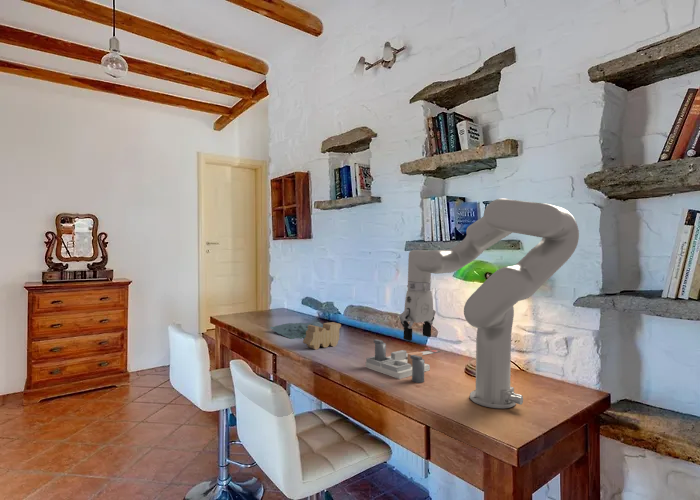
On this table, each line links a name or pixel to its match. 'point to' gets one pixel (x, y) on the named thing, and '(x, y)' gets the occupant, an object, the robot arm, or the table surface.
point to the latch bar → (413, 354)
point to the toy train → (322, 335)
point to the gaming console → (426, 352)
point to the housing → (390, 362)
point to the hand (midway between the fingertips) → (417, 338)
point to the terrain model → (294, 329)
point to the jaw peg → (417, 369)
